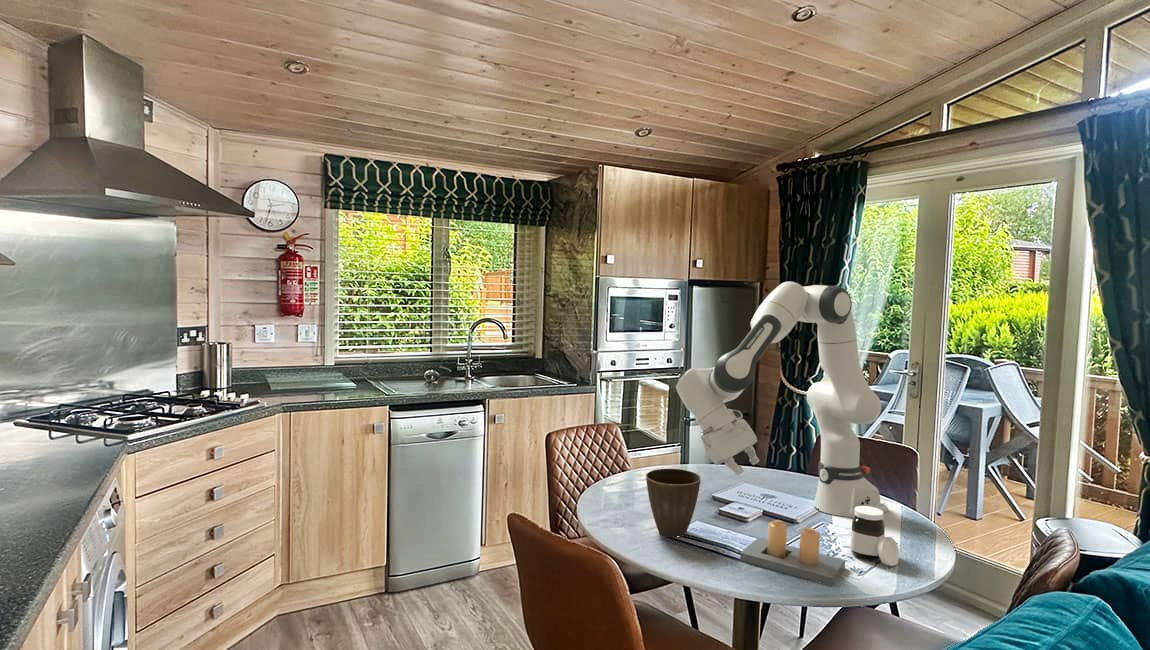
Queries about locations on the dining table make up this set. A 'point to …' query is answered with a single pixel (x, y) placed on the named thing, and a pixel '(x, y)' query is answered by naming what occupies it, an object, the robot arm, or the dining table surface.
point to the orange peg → (777, 539)
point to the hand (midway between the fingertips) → (748, 468)
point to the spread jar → (872, 537)
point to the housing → (797, 559)
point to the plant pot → (672, 499)
